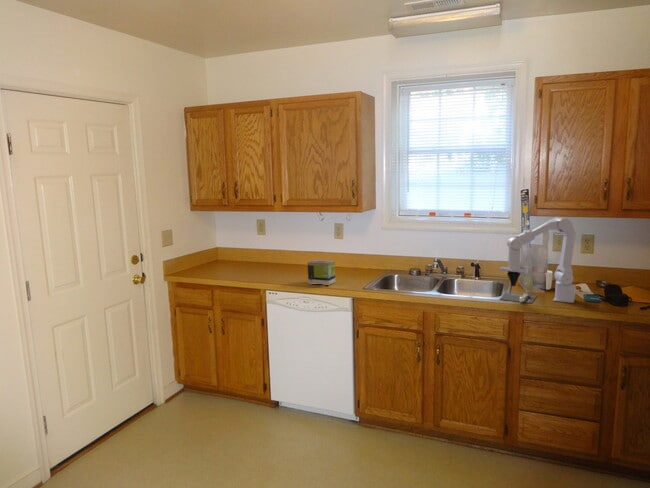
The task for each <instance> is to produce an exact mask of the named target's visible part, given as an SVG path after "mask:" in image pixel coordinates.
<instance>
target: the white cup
mask: <svg viewBox="0 0 650 488" xmlns="http://www.w3.org/2000/svg"><path fill="white" fill-rule="evenodd" d="M546 270H547V269H546ZM545 274H546V291H547V290H551V289H552V283H553V275H554V273H553V270H547V273H545Z"/></svg>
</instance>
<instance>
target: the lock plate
mask: <svg viewBox="0 0 650 488" xmlns="http://www.w3.org/2000/svg"><path fill="white" fill-rule="evenodd" d="M522 295H523V293H514V292H513V293H512V292H505V293H504V294H503V295H502V296H501V297H500V298H499V300H500V301H507V302H517V303H520V302H519V297H521V296H522ZM536 298H537V295H531V296H530V298H527V299H526V300H525V301H524V302H522V303H523V304H524V303H525V304H533V302H534V301H535V299H536Z"/></svg>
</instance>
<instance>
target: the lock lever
mask: <svg viewBox="0 0 650 488" xmlns="http://www.w3.org/2000/svg"><path fill="white" fill-rule="evenodd" d="M522 294H523V295H522V296H521V297H519V302H518V303H523V302H524V301H525V300H526V299H527V298H530V296H531V292H523V293H522Z"/></svg>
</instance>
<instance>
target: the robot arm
mask: <svg viewBox="0 0 650 488" xmlns="http://www.w3.org/2000/svg"><path fill="white" fill-rule="evenodd" d="M573 225H574V223H573V222H572V221H571V220H570V219H568V218H564V217H560V216H555V217H553V218H550V219H548V221H546V222H544V223H543V224H541V225H539V226H538V227H536V228H534V229H533V230H530V229H529V230H526V229H525V230H523V232H522V233H520V234H517V235H515V236H514V237H511V238H509V239H508V241H507V242H506V244H507V245H506V246H507V247H508V258H507V259H508V263H507V265H508V266H507V267H506V266H500V267H499V271H500V272H506V273H507V274H506V275H507V277H508V278H509V280H510V285H511V287H515V286H516V285H517V282H518V279H519V277H520V276H521V274H523V275H529V270H528V269H525V268H524V269H523V268H521V249H523V246H524V245H527V244H529V243H531V242H532V241H534V240H535V238H536V237H537V236H539V235H541V234H544V233H545V232H547V231H550V230H556V231H558V232H559V233H561V234H562V236H563V237H562V244H561V252H560V257H559V258H560V259H559V264H558V266H557V267H556V270H555V272H554V273H553V278H554V279H555V291H554V298H553V299H552V301H554V302H561V303H569V304H570V303H572V304H573V303H574V302H575V299H576V284H573V282H574V275H573V272H574V271H573V269H572V260H573V255H574V254H573V253H574V247H575V246H574V245H575V240H576V231H575V228H574V226H573Z"/></svg>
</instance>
